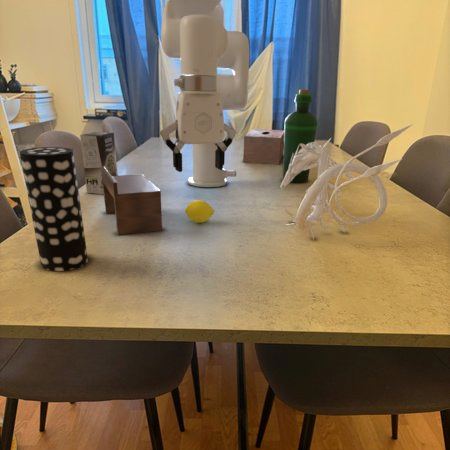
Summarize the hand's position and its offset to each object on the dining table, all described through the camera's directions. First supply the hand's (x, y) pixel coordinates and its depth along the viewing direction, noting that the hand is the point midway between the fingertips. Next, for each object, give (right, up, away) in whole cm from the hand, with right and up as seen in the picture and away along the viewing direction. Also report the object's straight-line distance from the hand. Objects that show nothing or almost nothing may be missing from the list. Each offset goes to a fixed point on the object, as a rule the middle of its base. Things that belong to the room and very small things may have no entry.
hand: (199, 169), depth 98 cm
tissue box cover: (+23, +31, +87) cm, 96 cm away
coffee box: (-31, +3, +31) cm, 44 cm away
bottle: (+30, +11, +49) cm, 58 cm away
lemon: (0, -11, +6) cm, 13 cm away
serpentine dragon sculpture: (+30, -14, +1) cm, 33 cm away
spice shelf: (-16, -11, +6) cm, 20 cm away
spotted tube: (-24, -23, -17) cm, 37 cm away
